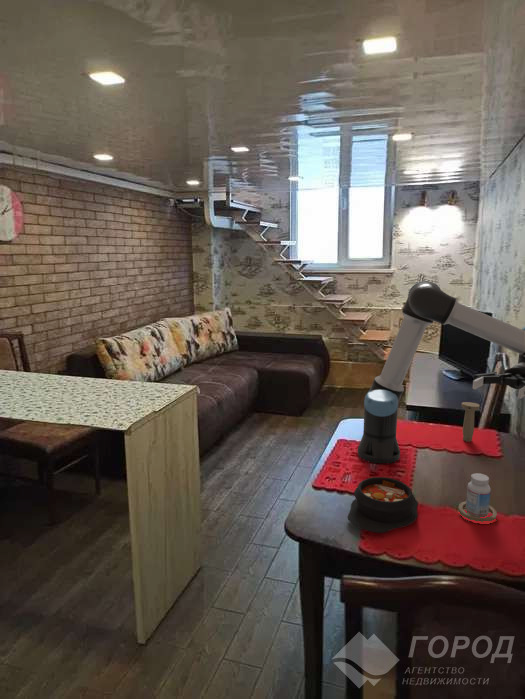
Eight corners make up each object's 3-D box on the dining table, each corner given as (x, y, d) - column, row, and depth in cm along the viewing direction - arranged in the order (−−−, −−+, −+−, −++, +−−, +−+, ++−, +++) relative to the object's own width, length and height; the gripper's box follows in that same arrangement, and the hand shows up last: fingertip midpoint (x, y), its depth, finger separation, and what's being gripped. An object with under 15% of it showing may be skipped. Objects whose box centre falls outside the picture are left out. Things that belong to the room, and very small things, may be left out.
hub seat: (466, 524, 136) (466, 520, 136) (452, 505, 146) (452, 500, 146) (503, 524, 136) (504, 519, 136) (486, 504, 146) (487, 500, 146)
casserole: (376, 488, 156) (377, 464, 155) (432, 509, 144) (434, 483, 142) (331, 521, 138) (332, 494, 137) (391, 548, 126) (393, 519, 124)
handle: (475, 444, 189) (478, 407, 186) (457, 441, 193) (460, 404, 189) (476, 440, 193) (480, 403, 190) (459, 436, 197) (462, 401, 193)
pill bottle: (486, 508, 143) (490, 473, 141) (489, 520, 138) (493, 483, 135) (464, 505, 145) (468, 470, 143) (465, 516, 140) (469, 480, 137)
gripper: (559, 394, 159) (539, 410, 144) (481, 379, 176) (455, 392, 161) (562, 372, 157) (542, 386, 142) (483, 359, 174) (457, 370, 159)
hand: (496, 389), depth 152 cm, fingers open, 13 cm apart
